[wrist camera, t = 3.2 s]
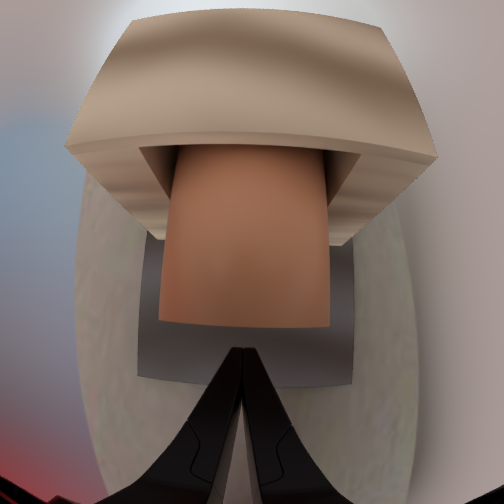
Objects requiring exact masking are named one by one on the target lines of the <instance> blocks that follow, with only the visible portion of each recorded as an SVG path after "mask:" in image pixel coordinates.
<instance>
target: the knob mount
mask: <svg viewBox="0 0 504 504" xmlns="http://www.w3.org/2000/svg"><path fill="white" fill-rule="evenodd" d="M183 144H255V145H277V146H293V147H305V148H317V149H322V151H323V161H324V171H325V183H326V196H327V211H328V230H329V256H330V326H329V327H313V328H255V327H230V326H213V325H199V324H188V323H178V322H169V321H162V320H158V319H159V301H160V287H161V275H162V264H163V254H164V245H165V236H166V228H167V220H168V213H169V206H170V199H171V192H172V186H173V180H174V174H175V168H176V163H177V157H178V152H179V147H180V145H183ZM65 147H66V148H67V149H68V150H69V151H70V152H71V154H72V155H73V156H74V157H75V158H76V159H77V160H78V161H79V162H80V163H81V164H82V165H83V166H84V167H85V168H86V170H87V171H88V172H89V173H90V174H91V175H92V176H93V177H94V178H95V179H96V180H97V181H98V182H99V183H100V184H101V185H102V186H103V187H104V188H105V189H106V190H107V191H108V192H109V193H110V194H111V195H112V196H113V197H114V198H115V199H116V200H117V201H118V202H119V203H120V204H121V205H122V206H123V207H124V208H125V209H126V210H127V211H128V212H129V213H130V214H131V215H132V216H133V217H134V218H135V219H136V220H137V221H138V222H139V223H140V224H141V225H143V226H144V227H145V228H146V229H147V238H146V245H145V254H144V262H143V272H142V283H141V295H140V309H139V328H138V376H141V377H147V378H154V379H160V380H168V381H175V382H184V383H193V384H204V385H209V383H210V382H211V380H212V378H213V377H214V375H215V373H216V372H217V370H218V368H219V367H220V365H221V363H222V362H223V360H224V358H225V357H226V355H227V353H228V352H229V350H230V348H231V347H233V346H235V347H243V351H244V348H245V347H255V348H256V349H257V351H258V354H259V356H260V358H261V360H262V362H263V365H264V367H265V369H266V371H267V373H268V375H269V377H270V380H271V382H272V384H273V386H274V388H291V387H319V386H335V385H347V384H352V370H353V351H354V264H353V244H352V236H354V235H355V234H356V233H357V232H358V231H359V230H360V229H362V228H363V227H364V226H365V225H366V224H367V223H368V222H369V221H371V220H372V219H373V218H374V217H375V216H376V215H377V214H378V213H380V212H381V211H382V210H383V209H384V208H385V207H386V206H387V205H388V204H389V203H391V202H392V201H393V200H394V199H395V198H396V197H397V196H398V195H399V194H400V193H401V192H402V191H403V190H405V189H406V188H407V187H408V186H409V185H410V184H411V183H412V182H413V181H414V180H415V179H416V178H417V177H418V176H419V175H420V174H421V173H422V172H423V171H425V169H427V167H428V166H430V165H431V164H432V163H433V162H434V161H435V160H436V158H438V156H437V153H436V150H435V146H434V143H433V140H432V137H431V134H430V132H429V128H428V126H427V123H426V120H425V118H424V115H423V112H422V110H421V107H420V105H419V102H418V100H417V98H416V95H415V93H414V91H413V88H412V86H411V84H410V82H409V80H408V78H407V75H406V73H405V71H404V69H403V67H402V65H401V63H400V61H399V59H398V58H397V56H396V54H395V52H394V50H393V48H392V47H391V45H390V43H389V41H388V40H387V38H386V36H385V34H384V32H383V31H382V29H381V28H379V27H376V26H372V25H368V24H364V23H360V22H356V21H352V20H347V19H342V18H337V17H331V16H326V15H320V14H313V13H306V12H298V11H288V10H274V9H245V8H243V9H242V8H239V9H211V10H198V11H188V12H179V13H172V14H165V15H159V16H153V17H148V18H143V19H138V20H133V21H132V22H131V23H130V24H129V26H128V27H127V29H126V30H125V32H124V33H123V34H122V36H121V38H120V39H119V40H118V42H117V44H116V45H115V46H114V48H113V50H112V51H111V53H110V54H109V56H108V58H107V59H106V61H105V63H104V64H103V66H102V68H101V70H100V71H99V73H98V75H97V77H96V79H95V81H94V82H93V84H92V86H91V88H90V90H89V92H88V94H87V96H86V98H85V100H84V102H83V104H82V106H81V108H80V110H79V112H78V115H77V117H76V119H75V122H74V124H73V126H72V128H71V131H70V133H69V136H68V138H67V141H66V143H65Z"/></svg>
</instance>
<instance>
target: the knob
mask: <svg viewBox="0 0 504 504" xmlns="http://www.w3.org/2000/svg"><path fill="white" fill-rule="evenodd" d="M158 320H162V321H169V322H178V323H188V324H199V325H213V326H230V327H255V328H313V327H329V326H330V256H329V230H328V211H327V196H326V183H325V171H324V161H323V151H322V149H317V148H305V147H293V146H277V145H255V144H183V145H180V147H179V152H178V157H177V163H176V168H175V174H174V180H173V186H172V192H171V199H170V206H169V213H168V220H167V228H166V236H165V245H164V254H163V264H162V275H161V287H160V301H159V319H158Z"/></svg>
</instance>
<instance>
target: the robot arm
mask: <svg viewBox="0 0 504 504" xmlns="http://www.w3.org/2000/svg"><path fill="white" fill-rule="evenodd" d="M241 402H242V410H243V420H244V430H245V439H246V448H247V457H248V466H249V474H250V482H251V490H252V498H253V504H353V503H352V502H351V501H349V500H348V499H346V498H345V497H344V496H342V495H341V494H340V493H339V492H338V491H337V490H336V489H335V488H334V487H333V486H332V485H331V483H330V482H329V481H328V480H327V478H326V477H325V476H324V474H323V473H322V472H321V470H320V469H319V468H318V466H317V465H316V463H315V462H314V461H313V459H312V458H311V457H310V455H309V453H308V452H307V450H306V449H305V447H304V446H303V444H302V442H301V440H300V439H299V437H298V435H297V433H296V431H295V429H294V427H293V426H291V425H292V423H291V421H290V419H289V417H288V415H287V413H286V411H285V409H284V407H283V405H282V403H281V401H280V398H279V396H278V394H277V392H276V390H275V388H274V386H273V384H272V382H271V380H270V377H269V375H268V373H267V371H266V369H265V367H264V365H263V362H262V360H261V358H260V356H259V354H258V351H257V349H256V348H255V347H245V348H244V351H243V347H235V346H233V347H231V348H230V350H229V352H228V353H227V355H226V357H225V358H224V360H223V362H222V363H221V365H220V367H219V368H218V370H217V372H216V373H215V375H214V377H213V378H212V380H211V382H210V383H209V385H208V387H207V388H206V390H205V391H204V393H203V395H202V396H201V398H200V400H199V401H198V403H197V404H196V406H195V408H194V409H193V411H192V412H191V414H190V416H189V417H188V419H187V420H188V421H186V422H185V423H184V425H183V427H182V428H181V430H180V431H179V433H178V434H177V436H176V437H175V438H174V440H173V441H172V442H171V444H170V445H169V446H168V447H167V448H166V450H165V451H164V452H163V453H162V454H161V455H160V457H159V458H158V459H157V460H156V461H155V462H154V463H153V464H152V465H151V467H150V468H149V469H148V470H147V471H146V472H145V473H144V474H143V475H142V476H141V477H140V478H139V479H138V480H136V481H135V482H134V483H132V484H131V485H129V486H127V487H126V488H124V489H122V490H120V491H118V492H116V493H115V494H113V495H111V496H109V497H107V498H105V499H103V500H101V501H99V502H97V503H95V504H222V503H223V498H224V493H225V488H226V483H227V478H228V473H229V468H230V463H231V458H232V452H233V447H234V442H235V436H236V431H237V426H238V420H239V415H240V409H241ZM0 504H79V503H77V502H74V501H72V500H69V499H67V498H64V497H62V496H59V495H56V496H55V497H54V498H52V499H51V500H50V501H49V502H45V501H43V500H42V499H40V498H38V497H36V496H35V495H33V494H31V493H30V492H28V491H27V490H25V489H23V488H22V487H20V486H18V485H16V484H15V483H13V482H12V481H10V480H8V479H6V478H4V477H2V476H1V475H0ZM465 504H504V485H502V486H500V487H498V488H496V489H494V490H492V491H490V492H489V493H486V494H484V495H482V496H480V497H478V498H476V499H473V500H471V501H469V502H467V503H465Z"/></svg>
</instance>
